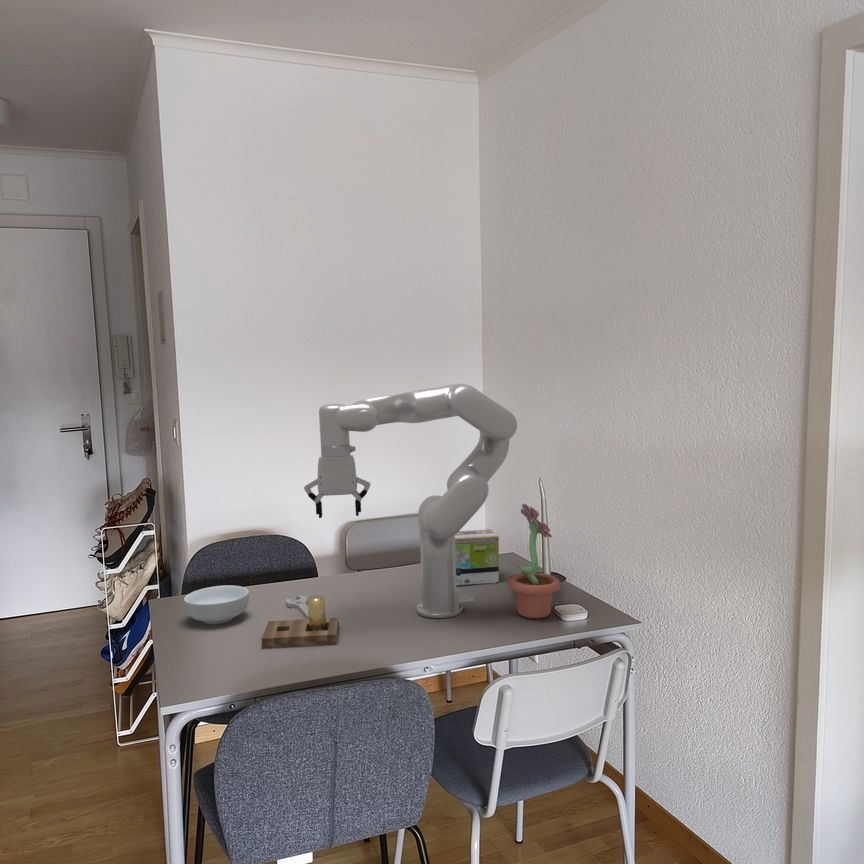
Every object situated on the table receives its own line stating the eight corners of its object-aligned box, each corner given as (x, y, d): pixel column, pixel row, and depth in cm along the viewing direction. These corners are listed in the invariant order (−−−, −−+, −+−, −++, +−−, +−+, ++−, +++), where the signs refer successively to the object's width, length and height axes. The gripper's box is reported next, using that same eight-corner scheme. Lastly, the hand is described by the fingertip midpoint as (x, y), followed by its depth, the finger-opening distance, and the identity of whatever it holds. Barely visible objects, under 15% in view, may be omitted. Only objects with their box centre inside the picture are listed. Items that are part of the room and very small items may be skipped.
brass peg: (326, 633, 198) (325, 594, 197) (325, 639, 193) (324, 600, 192) (310, 633, 197) (308, 595, 196) (308, 640, 193) (306, 601, 192)
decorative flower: (572, 620, 201) (571, 506, 198) (523, 627, 197) (521, 511, 194) (546, 602, 215) (545, 496, 212) (500, 609, 211) (498, 501, 208)
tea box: (451, 587, 232) (450, 539, 230) (444, 577, 242) (442, 531, 240) (499, 583, 235) (498, 535, 233) (490, 573, 244) (489, 527, 243)
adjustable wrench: (326, 629, 202) (325, 622, 202) (301, 633, 200) (301, 626, 200) (305, 600, 225) (305, 594, 225) (283, 603, 223) (283, 597, 223)
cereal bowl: (250, 606, 220) (248, 581, 220) (250, 626, 204) (249, 600, 203) (187, 612, 216) (185, 588, 216) (183, 633, 200) (181, 607, 200)
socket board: (338, 626, 202) (338, 617, 201) (336, 644, 190) (336, 634, 190) (268, 630, 200) (268, 621, 200) (262, 648, 189) (261, 638, 188)
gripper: (368, 448, 207) (371, 511, 209) (303, 451, 205) (306, 514, 207) (368, 451, 199) (372, 517, 201) (300, 455, 198) (304, 521, 200)
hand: (339, 515), depth 204 cm, fingers open, 9 cm apart
